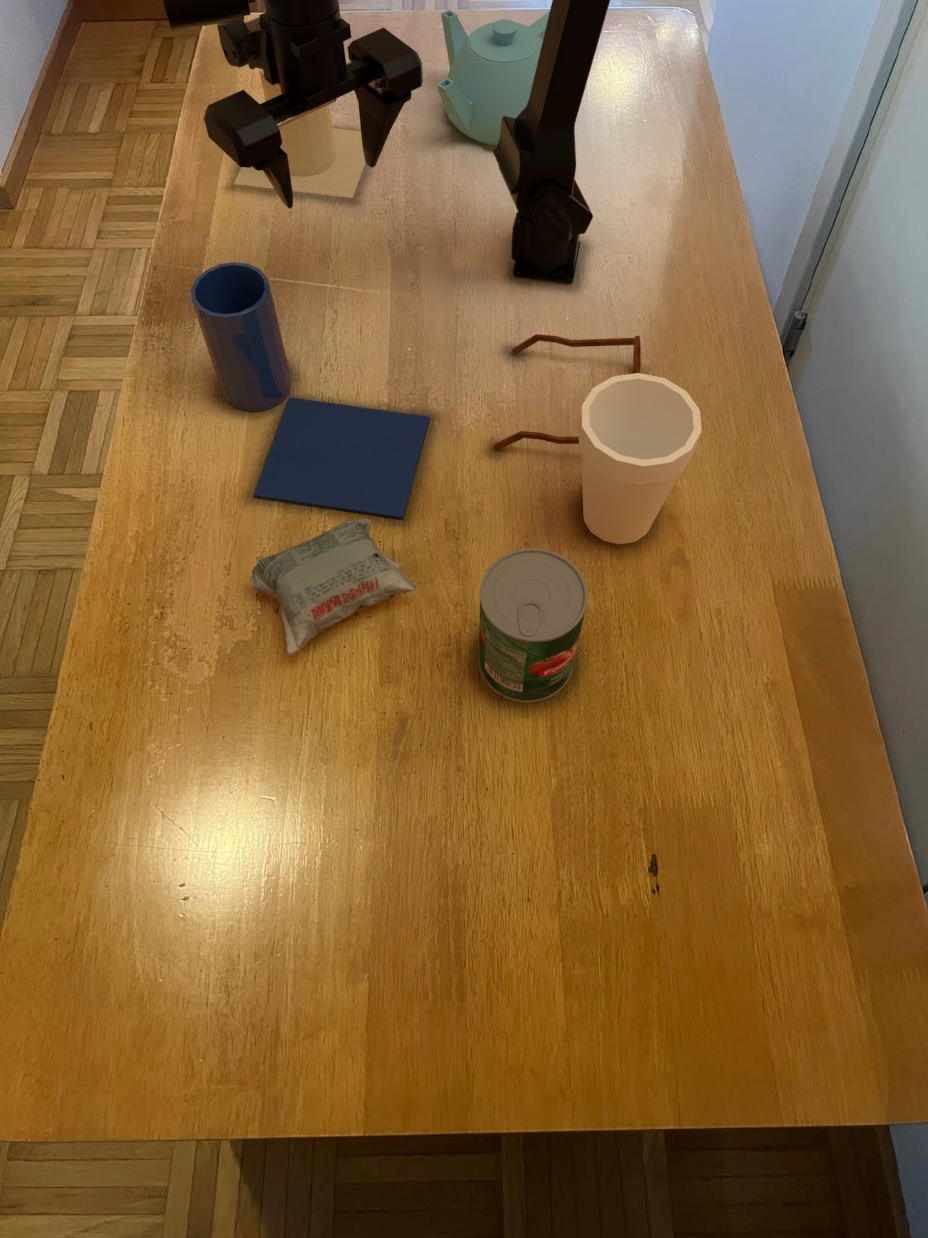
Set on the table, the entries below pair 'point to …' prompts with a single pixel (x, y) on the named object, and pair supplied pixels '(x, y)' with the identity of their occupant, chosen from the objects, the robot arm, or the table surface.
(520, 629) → the canned tomato
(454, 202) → the table surface
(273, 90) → the cream cup
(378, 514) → the blue mat
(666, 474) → the foam cup
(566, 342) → the glasses
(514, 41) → the teapot
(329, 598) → the packaged food
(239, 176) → the cream mat
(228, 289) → the blue cup
